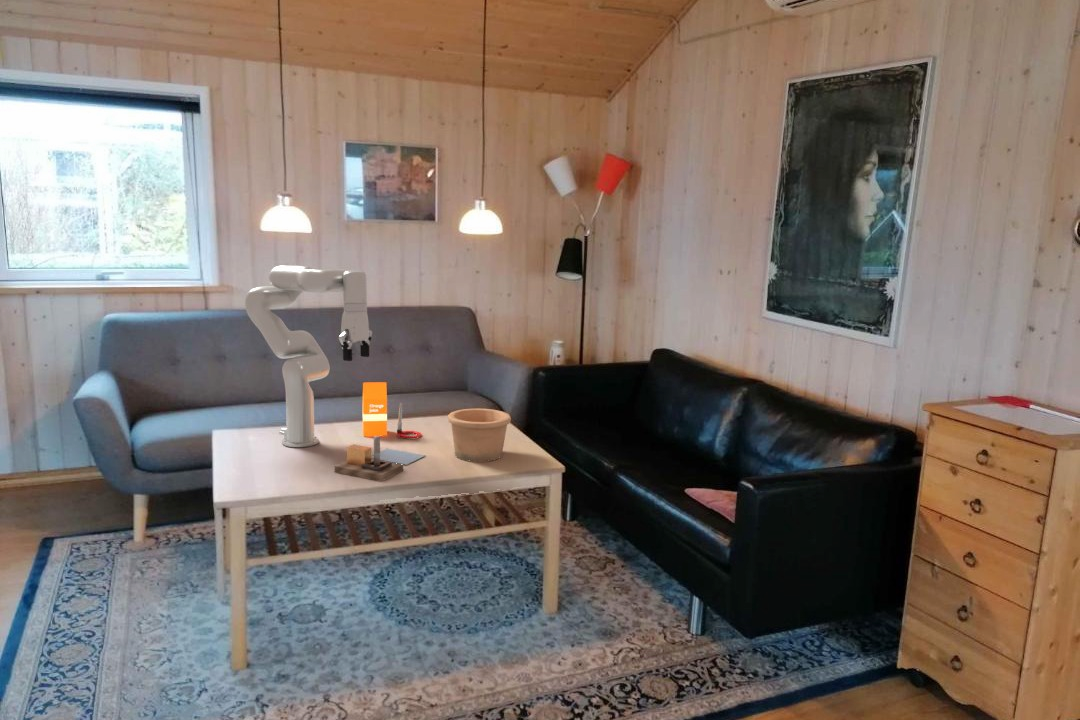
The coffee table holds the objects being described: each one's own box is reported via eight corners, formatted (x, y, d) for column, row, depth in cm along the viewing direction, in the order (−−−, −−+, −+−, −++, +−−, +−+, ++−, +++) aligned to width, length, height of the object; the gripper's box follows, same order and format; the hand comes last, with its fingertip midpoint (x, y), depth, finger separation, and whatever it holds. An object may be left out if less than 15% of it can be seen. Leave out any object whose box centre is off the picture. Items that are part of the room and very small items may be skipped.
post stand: (334, 472, 242) (334, 435, 239) (357, 462, 252) (357, 427, 250) (381, 481, 235) (381, 444, 233) (402, 470, 246) (403, 435, 243)
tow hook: (422, 434, 291) (398, 432, 290) (424, 402, 288) (400, 400, 288) (420, 440, 282) (395, 438, 282) (422, 407, 280) (397, 405, 280)
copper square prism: (343, 464, 243) (343, 448, 242) (356, 459, 249) (356, 443, 248) (379, 471, 238) (379, 454, 237) (391, 465, 244) (391, 449, 243)
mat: (366, 458, 257) (366, 457, 257) (386, 449, 268) (386, 448, 268) (406, 465, 251) (406, 464, 251) (425, 456, 262) (425, 455, 262)
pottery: (450, 465, 253) (451, 424, 251) (445, 446, 274) (445, 408, 272) (513, 463, 258) (515, 423, 255) (503, 445, 279) (504, 407, 276)
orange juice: (387, 435, 285) (387, 384, 282) (363, 436, 283) (363, 384, 279) (385, 430, 292) (386, 380, 289) (362, 431, 290) (362, 380, 287)
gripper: (361, 305, 260) (362, 354, 263) (329, 309, 244) (331, 361, 247) (379, 306, 257) (380, 355, 260) (349, 310, 241) (350, 363, 244)
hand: (356, 358), depth 253 cm, fingers open, 9 cm apart
